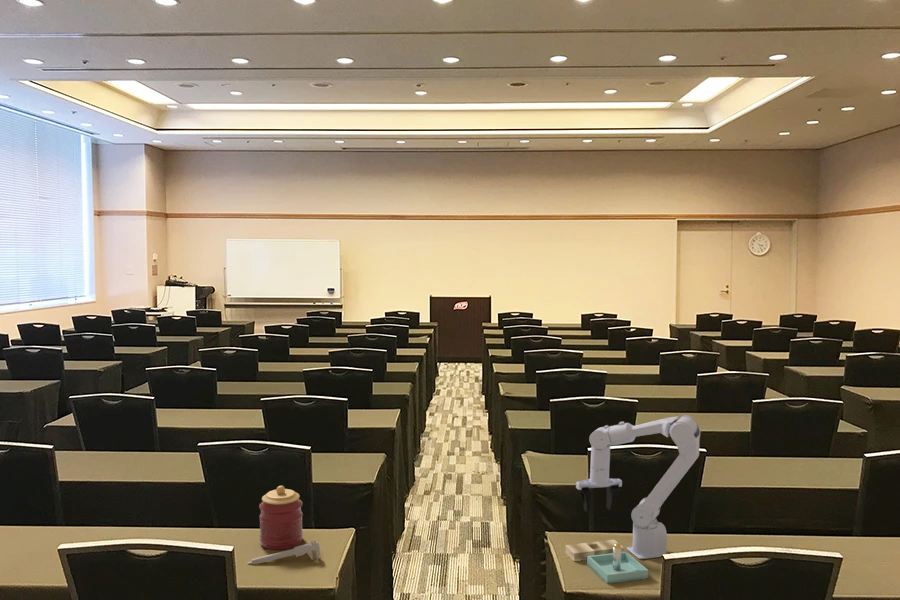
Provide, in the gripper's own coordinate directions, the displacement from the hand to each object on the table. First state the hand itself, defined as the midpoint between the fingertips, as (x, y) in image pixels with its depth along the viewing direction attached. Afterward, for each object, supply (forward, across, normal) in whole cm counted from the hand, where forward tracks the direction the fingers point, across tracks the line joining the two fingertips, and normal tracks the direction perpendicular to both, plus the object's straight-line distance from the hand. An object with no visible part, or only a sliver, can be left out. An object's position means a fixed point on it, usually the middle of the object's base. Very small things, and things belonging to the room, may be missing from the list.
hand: (597, 510), depth 230 cm
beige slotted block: (+10, +4, +8) cm, 14 cm away
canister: (+13, +94, -26) cm, 98 cm away
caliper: (+13, +94, -11) cm, 95 cm away
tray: (+10, +3, +20) cm, 22 cm away
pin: (+10, +4, +19) cm, 22 cm away
